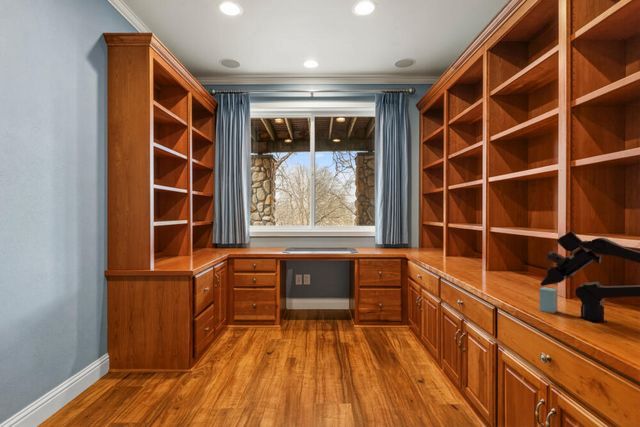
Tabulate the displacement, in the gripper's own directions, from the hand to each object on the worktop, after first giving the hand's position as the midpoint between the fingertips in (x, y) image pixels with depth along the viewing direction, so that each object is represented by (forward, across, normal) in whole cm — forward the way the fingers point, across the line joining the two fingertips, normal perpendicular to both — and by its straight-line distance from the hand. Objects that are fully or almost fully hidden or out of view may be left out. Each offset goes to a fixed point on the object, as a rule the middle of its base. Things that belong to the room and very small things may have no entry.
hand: (544, 283), depth 138 cm
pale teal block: (+7, 0, +9) cm, 11 cm away
